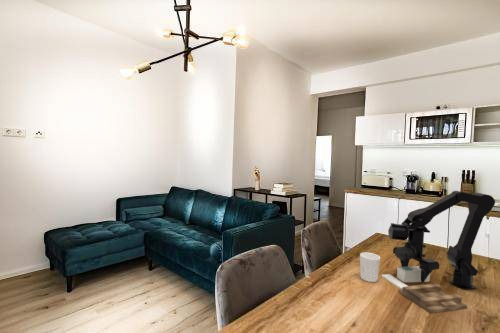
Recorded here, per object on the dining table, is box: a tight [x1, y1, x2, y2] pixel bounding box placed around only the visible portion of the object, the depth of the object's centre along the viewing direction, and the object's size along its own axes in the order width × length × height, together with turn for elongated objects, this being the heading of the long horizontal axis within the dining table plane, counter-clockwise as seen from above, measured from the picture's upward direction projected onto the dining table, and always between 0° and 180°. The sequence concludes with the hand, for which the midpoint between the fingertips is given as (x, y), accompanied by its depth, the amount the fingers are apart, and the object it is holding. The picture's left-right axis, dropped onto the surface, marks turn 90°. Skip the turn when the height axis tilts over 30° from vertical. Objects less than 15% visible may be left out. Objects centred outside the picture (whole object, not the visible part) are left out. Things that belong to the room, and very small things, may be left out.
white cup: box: [359, 251, 381, 283], centre depth 114 cm, size 8×8×10 cm
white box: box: [396, 265, 431, 284], centre depth 115 cm, size 12×4×5 cm, turn 98°
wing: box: [381, 273, 408, 289], centre depth 111 cm, size 4×12×1 cm, turn 11°
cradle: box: [397, 283, 468, 314], centre depth 98 cm, size 16×14×3 cm
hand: (413, 276), depth 115 cm, fingers open, 9 cm apart
